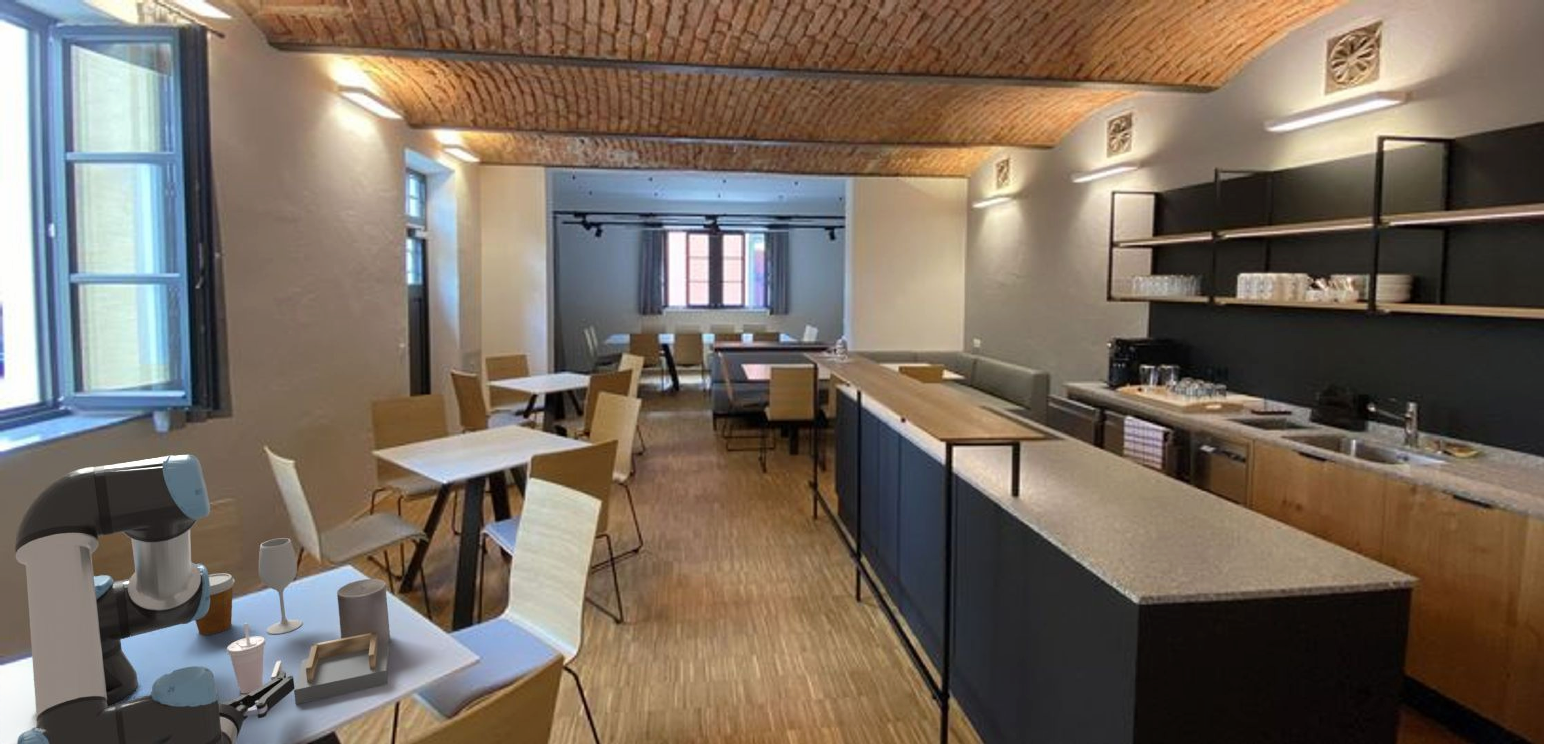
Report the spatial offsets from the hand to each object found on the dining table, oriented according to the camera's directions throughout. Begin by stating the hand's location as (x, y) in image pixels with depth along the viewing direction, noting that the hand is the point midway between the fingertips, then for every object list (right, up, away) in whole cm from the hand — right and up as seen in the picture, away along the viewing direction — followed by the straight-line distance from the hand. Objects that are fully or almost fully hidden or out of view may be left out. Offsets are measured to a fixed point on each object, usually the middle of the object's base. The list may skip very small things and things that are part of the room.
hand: (237, 675), depth 145 cm
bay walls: (+13, -3, +13) cm, 18 cm away
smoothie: (-4, -7, +10) cm, 12 cm away
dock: (+13, -6, +13) cm, 19 cm away
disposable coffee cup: (-31, -3, +36) cm, 48 cm away
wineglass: (-14, -3, +36) cm, 39 cm away
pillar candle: (+10, -4, +27) cm, 29 cm away
